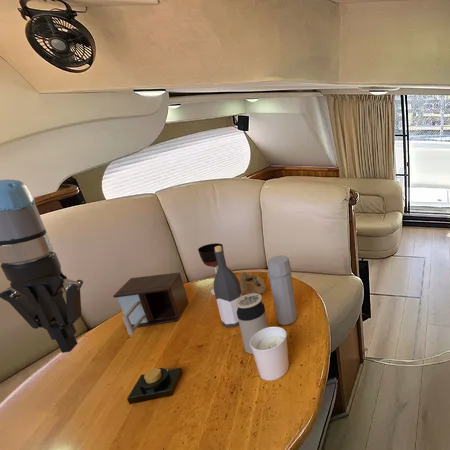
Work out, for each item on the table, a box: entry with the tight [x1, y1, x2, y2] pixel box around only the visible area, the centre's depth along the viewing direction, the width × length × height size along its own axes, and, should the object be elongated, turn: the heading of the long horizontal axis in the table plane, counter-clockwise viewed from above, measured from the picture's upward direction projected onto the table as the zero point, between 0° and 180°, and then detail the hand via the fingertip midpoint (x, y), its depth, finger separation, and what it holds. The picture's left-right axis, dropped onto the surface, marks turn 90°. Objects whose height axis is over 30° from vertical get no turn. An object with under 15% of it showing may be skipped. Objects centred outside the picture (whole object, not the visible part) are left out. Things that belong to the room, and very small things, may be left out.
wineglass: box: [197, 242, 225, 296], centre depth 130 cm, size 8×9×20 cm
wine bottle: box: [213, 246, 243, 328], centre depth 109 cm, size 8×8×30 cm
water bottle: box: [266, 254, 298, 326], centre depth 111 cm, size 9×8×25 cm
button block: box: [126, 367, 184, 405], centre depth 87 cm, size 10×8×4 cm
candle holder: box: [250, 326, 290, 382], centre depth 91 cm, size 10×10×12 cm
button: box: [144, 367, 162, 384], centre depth 86 cm, size 4×4×2 cm
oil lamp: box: [239, 271, 267, 295], centre depth 130 cm, size 11×15×8 cm
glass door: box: [117, 294, 151, 336], centre depth 105 cm, size 7×10×12 cm, turn 16°
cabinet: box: [112, 272, 190, 330], centre depth 115 cm, size 16×12×14 cm
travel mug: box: [236, 293, 269, 355], centre depth 99 cm, size 8×8×18 cm
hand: (70, 348), depth 72 cm, fingers closed
